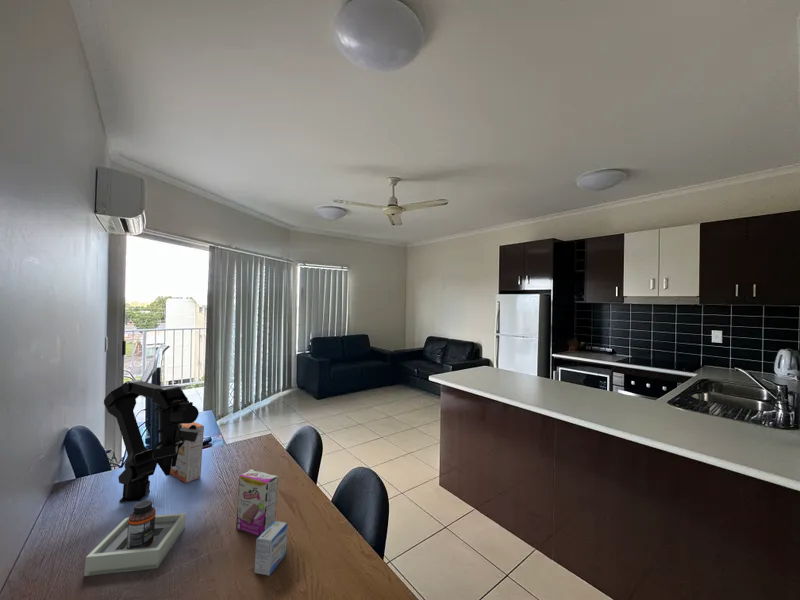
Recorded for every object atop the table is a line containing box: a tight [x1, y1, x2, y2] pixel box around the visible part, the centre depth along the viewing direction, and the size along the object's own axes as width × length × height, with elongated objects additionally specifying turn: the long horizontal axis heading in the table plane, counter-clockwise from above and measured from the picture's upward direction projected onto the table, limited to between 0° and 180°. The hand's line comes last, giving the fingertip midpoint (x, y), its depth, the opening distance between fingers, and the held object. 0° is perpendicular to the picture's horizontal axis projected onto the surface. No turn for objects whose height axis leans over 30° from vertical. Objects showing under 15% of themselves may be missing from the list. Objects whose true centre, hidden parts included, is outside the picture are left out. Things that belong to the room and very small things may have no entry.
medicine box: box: [254, 520, 288, 577], centre depth 86 cm, size 8×4×9 cm, turn 168°
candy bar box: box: [235, 468, 279, 537], centre depth 99 cm, size 11×5×16 cm, turn 71°
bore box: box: [83, 512, 187, 577], centre depth 89 cm, size 16×16×4 cm
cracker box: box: [170, 421, 205, 484], centre depth 130 cm, size 14×6×21 cm, turn 58°
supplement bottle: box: [127, 499, 157, 549], centre depth 89 cm, size 6×6×11 cm
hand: (170, 470), depth 109 cm, fingers open, 9 cm apart
